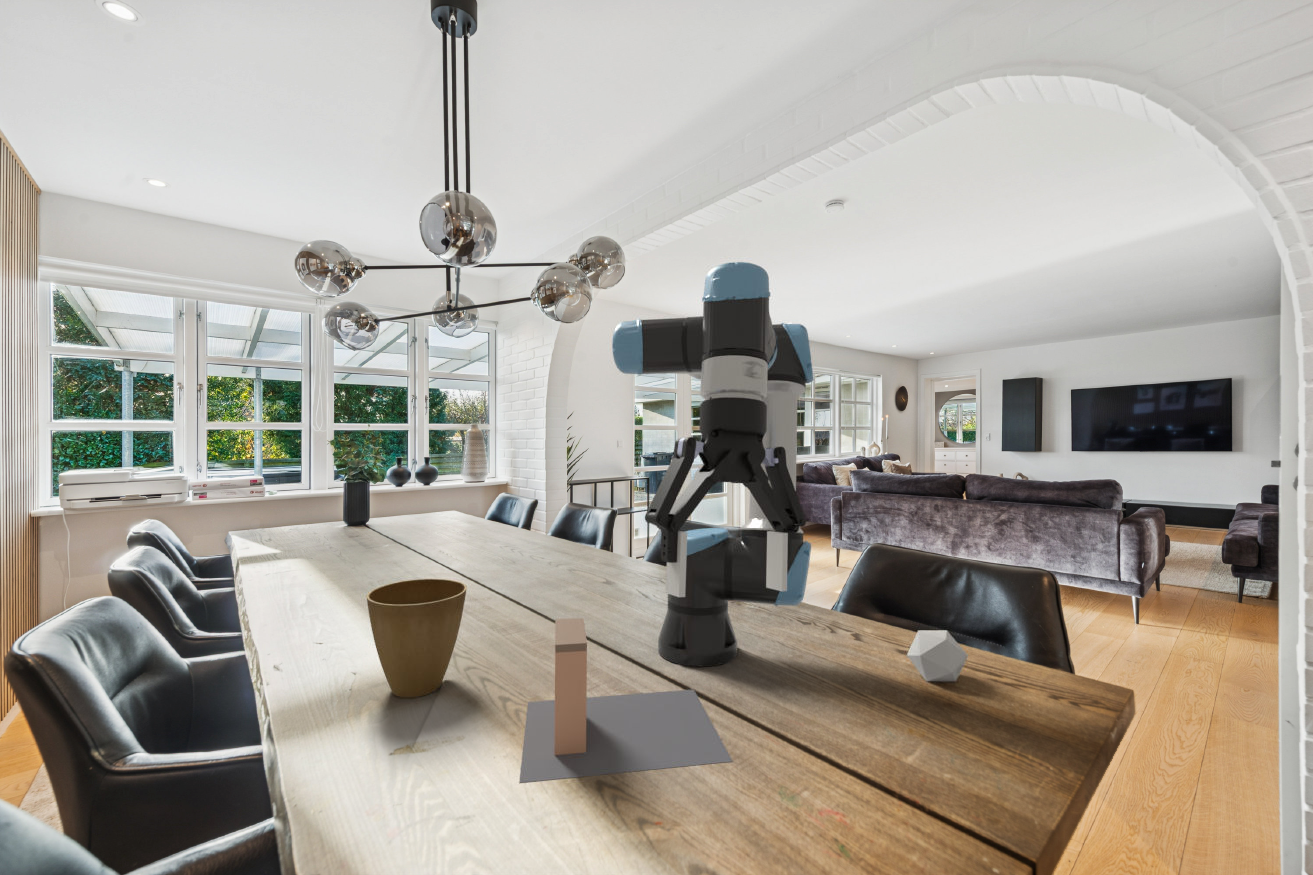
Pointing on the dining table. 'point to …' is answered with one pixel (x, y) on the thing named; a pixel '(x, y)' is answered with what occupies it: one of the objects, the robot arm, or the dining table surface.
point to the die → (937, 655)
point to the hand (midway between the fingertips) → (728, 592)
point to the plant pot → (416, 631)
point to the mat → (624, 737)
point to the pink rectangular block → (570, 686)
